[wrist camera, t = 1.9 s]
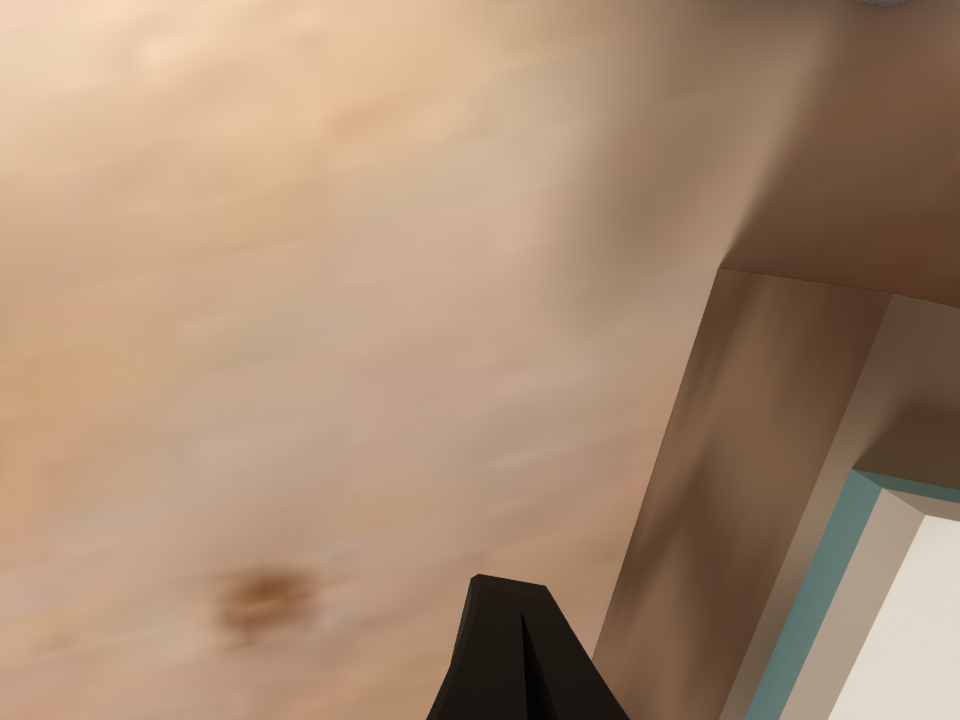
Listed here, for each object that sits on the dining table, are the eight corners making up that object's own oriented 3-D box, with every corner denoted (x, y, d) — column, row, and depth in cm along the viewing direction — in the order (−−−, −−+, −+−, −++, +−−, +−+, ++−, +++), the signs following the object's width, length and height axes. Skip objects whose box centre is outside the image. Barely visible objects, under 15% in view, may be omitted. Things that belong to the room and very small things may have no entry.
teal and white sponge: (925, 843, 11) (994, 936, 10) (705, 808, 11) (741, 898, 9) (1111, 520, 9) (1233, 576, 8) (850, 468, 9) (925, 515, 7)
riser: (914, 733, 18) (1126, 974, 12) (586, 677, 17) (642, 904, 11) (1115, 356, 15) (1539, 438, 9) (719, 267, 14) (894, 292, 8)
